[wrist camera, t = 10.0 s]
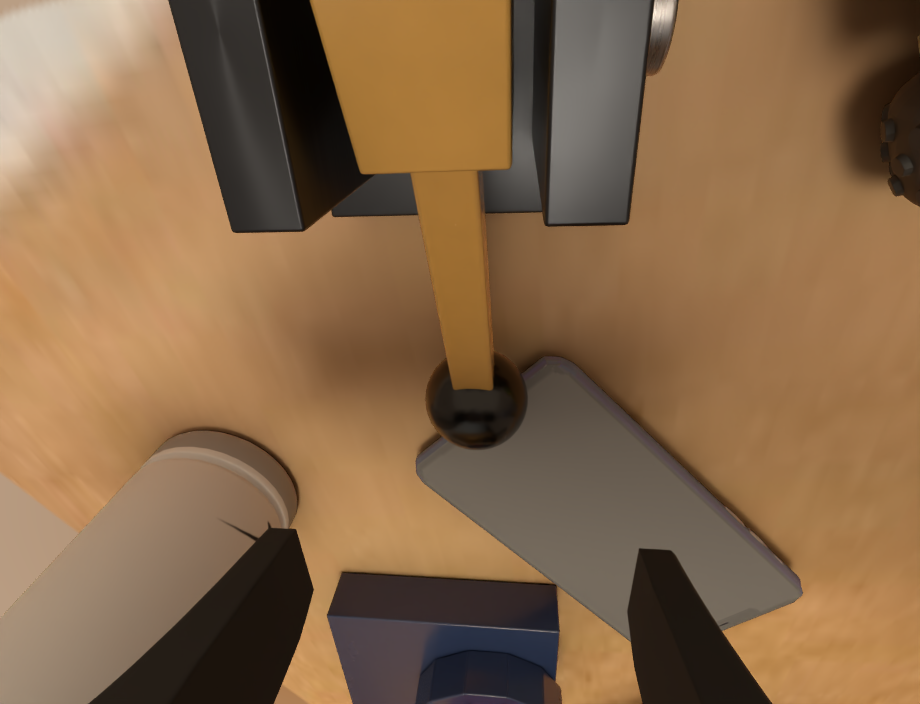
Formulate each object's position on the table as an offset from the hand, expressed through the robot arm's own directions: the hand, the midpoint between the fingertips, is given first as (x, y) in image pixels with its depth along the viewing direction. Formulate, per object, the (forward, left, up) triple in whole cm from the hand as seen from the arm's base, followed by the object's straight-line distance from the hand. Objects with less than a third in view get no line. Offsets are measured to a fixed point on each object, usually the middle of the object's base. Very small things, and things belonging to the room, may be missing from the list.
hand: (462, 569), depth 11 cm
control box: (+2, +16, -8) cm, 18 cm away
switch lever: (0, -6, -4) cm, 7 cm away
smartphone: (-5, +7, -8) cm, 11 cm away
